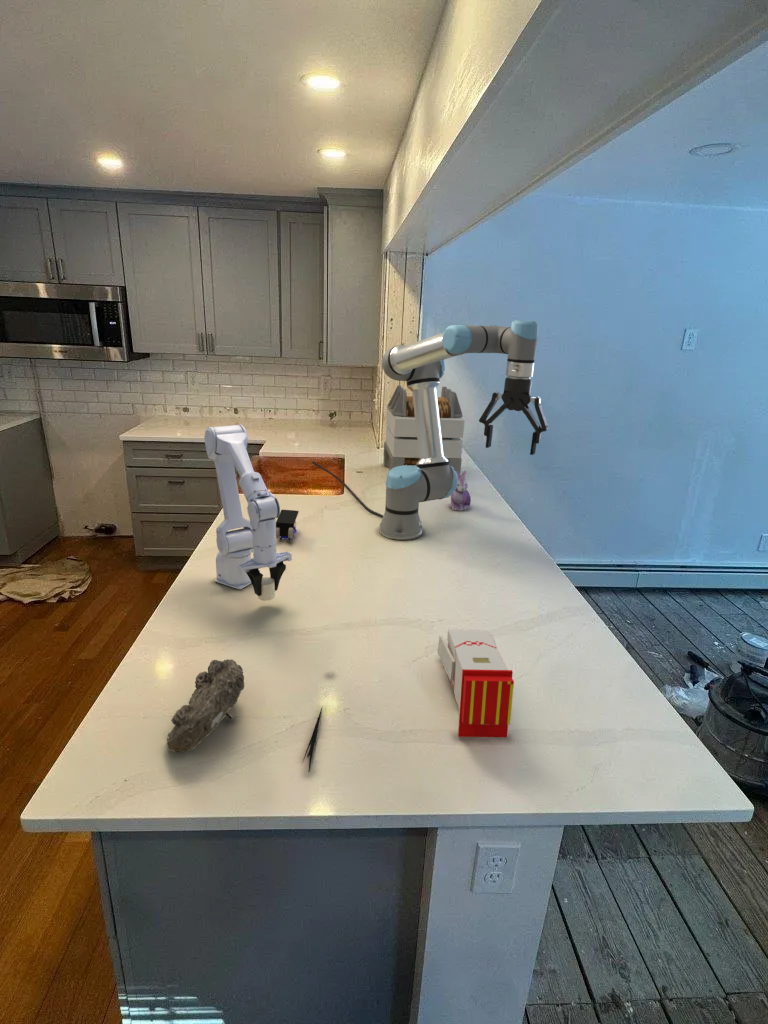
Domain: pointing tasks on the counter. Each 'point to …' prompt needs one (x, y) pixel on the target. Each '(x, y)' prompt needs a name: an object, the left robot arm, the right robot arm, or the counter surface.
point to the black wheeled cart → (286, 524)
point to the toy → (478, 682)
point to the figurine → (460, 494)
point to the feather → (313, 740)
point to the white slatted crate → (404, 434)
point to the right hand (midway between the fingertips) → (509, 450)
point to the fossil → (206, 705)
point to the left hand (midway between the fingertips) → (266, 591)
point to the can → (267, 589)
